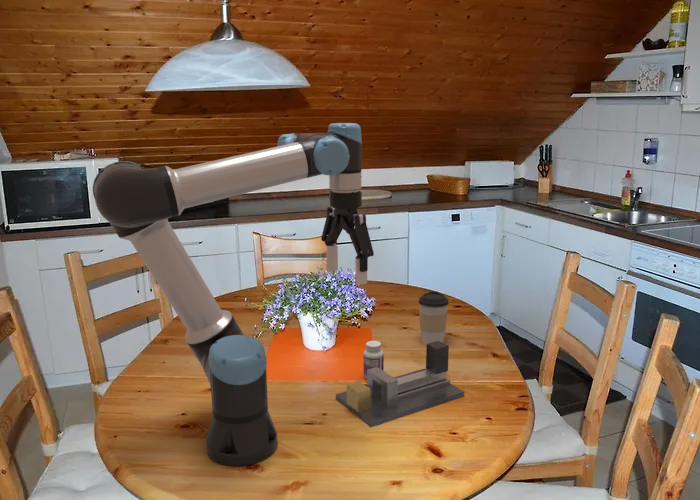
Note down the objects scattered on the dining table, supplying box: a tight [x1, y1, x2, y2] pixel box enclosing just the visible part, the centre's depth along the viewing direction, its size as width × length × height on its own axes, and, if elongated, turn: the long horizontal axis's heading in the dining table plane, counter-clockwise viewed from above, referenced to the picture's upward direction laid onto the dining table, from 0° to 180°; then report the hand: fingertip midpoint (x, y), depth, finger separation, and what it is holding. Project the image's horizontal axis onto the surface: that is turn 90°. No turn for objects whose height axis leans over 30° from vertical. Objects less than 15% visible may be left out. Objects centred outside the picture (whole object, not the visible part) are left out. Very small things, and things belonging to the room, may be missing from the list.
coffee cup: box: [418, 290, 449, 345], centre depth 187 cm, size 9×9×15 cm
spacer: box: [346, 380, 370, 412], centre depth 147 cm, size 5×5×4 cm
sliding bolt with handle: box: [397, 341, 450, 395], centre depth 155 cm, size 16×4×10 cm, turn 121°
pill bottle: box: [363, 340, 385, 380], centre depth 164 cm, size 5×5×10 cm
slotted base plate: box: [335, 367, 465, 428], centre depth 153 cm, size 28×16×8 cm, turn 121°
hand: (346, 277), depth 149 cm, fingers open, 13 cm apart
